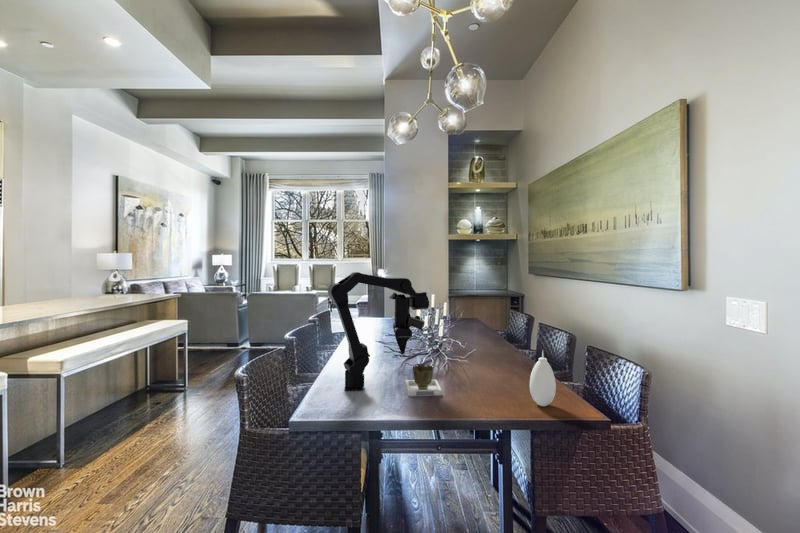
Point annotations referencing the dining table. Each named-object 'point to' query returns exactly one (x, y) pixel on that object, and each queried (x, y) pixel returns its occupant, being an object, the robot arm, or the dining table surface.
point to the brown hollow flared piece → (422, 376)
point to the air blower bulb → (542, 382)
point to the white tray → (430, 391)
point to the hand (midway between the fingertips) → (402, 350)
